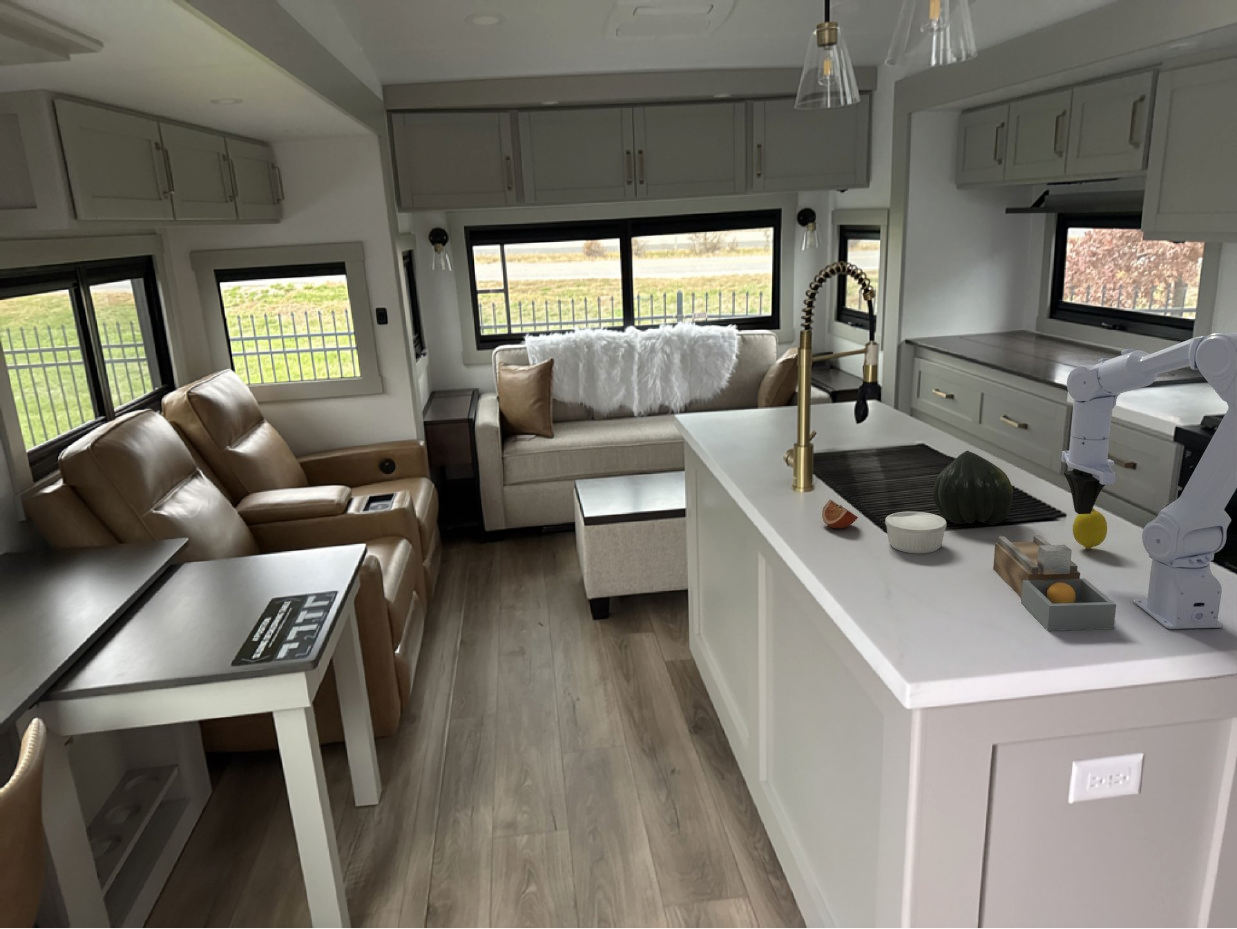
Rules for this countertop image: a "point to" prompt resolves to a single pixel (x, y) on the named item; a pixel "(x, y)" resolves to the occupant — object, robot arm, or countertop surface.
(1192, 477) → the robot arm
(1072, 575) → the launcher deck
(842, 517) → the fruit slice
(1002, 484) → the squash
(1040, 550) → the plunger
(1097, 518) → the lemon
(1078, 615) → the grey open tray
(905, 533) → the ramekin
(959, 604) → the countertop surface
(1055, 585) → the ball
